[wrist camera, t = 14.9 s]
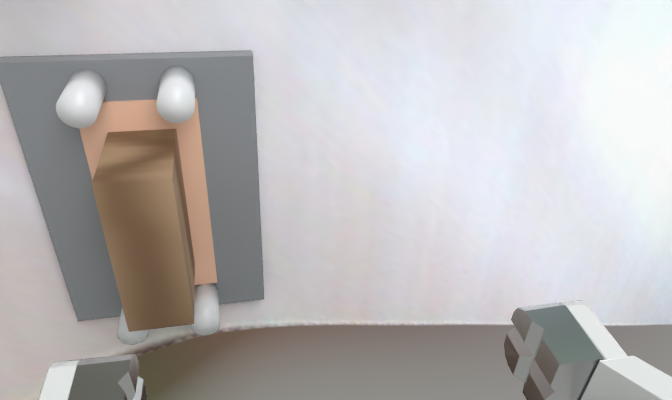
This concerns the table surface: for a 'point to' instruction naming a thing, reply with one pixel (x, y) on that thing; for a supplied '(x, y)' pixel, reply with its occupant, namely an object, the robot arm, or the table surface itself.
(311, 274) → the table surface
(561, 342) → the robot arm
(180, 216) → the block
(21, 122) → the cradle
